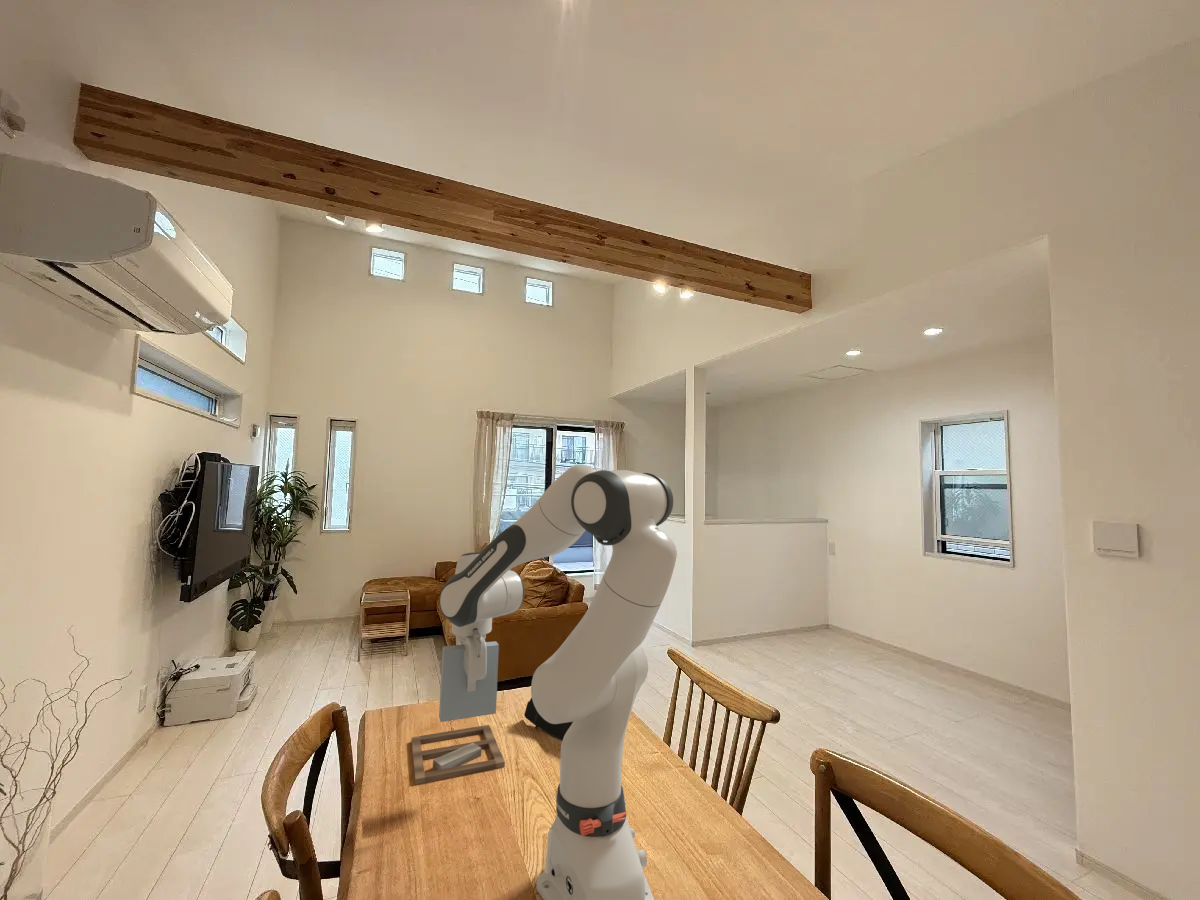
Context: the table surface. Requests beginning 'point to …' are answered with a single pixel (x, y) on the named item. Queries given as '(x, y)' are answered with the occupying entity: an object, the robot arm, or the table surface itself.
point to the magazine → (545, 722)
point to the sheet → (454, 683)
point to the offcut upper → (457, 757)
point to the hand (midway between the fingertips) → (469, 686)
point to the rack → (438, 752)
